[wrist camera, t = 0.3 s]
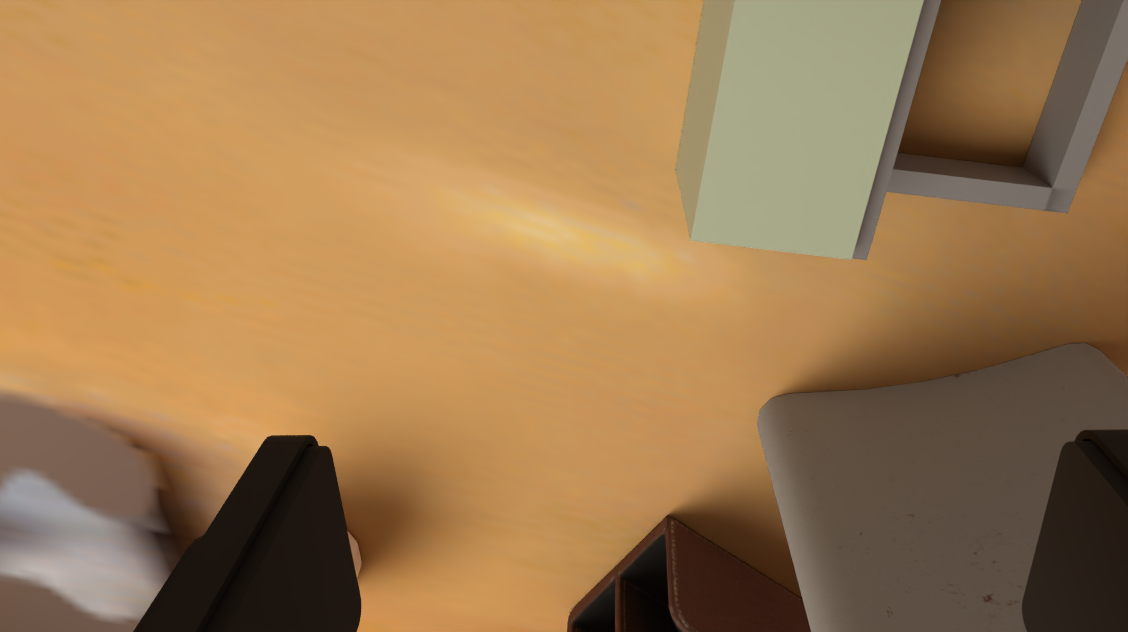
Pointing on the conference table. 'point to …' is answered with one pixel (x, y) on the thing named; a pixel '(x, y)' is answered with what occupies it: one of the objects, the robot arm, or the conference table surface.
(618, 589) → the letter holder
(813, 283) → the conference table surface
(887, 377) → the conference table surface
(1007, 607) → the flask
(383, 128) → the conference table surface
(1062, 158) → the green box on stand
